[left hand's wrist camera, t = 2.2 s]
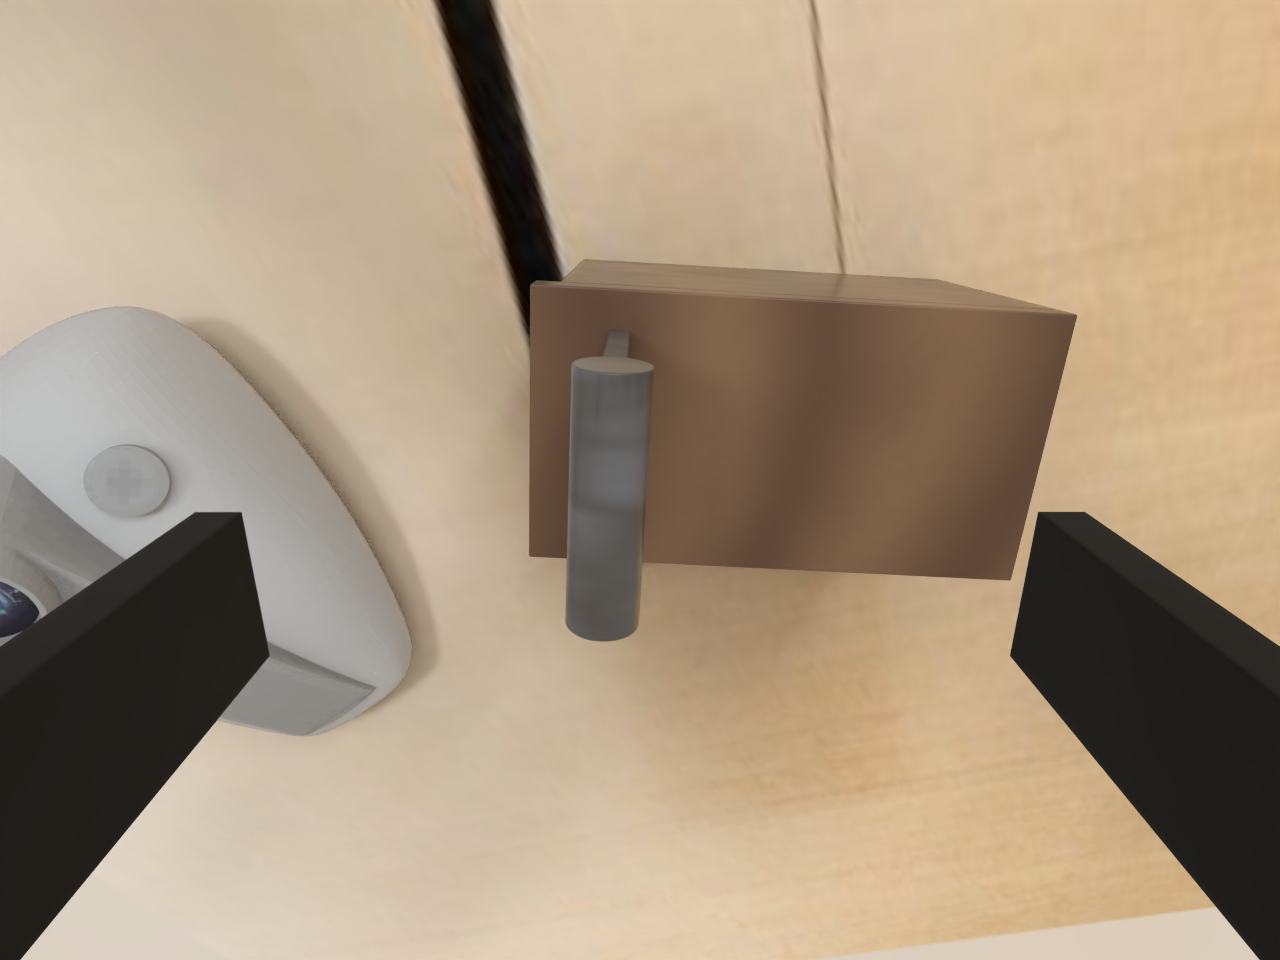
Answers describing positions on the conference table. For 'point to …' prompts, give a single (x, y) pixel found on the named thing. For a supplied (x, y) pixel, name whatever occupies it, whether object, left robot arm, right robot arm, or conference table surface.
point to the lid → (779, 435)
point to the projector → (187, 505)
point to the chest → (786, 283)
